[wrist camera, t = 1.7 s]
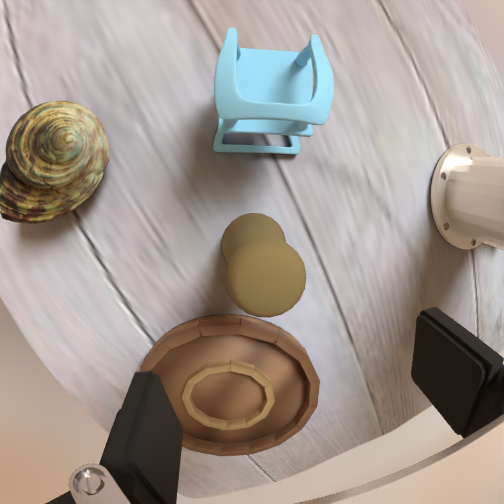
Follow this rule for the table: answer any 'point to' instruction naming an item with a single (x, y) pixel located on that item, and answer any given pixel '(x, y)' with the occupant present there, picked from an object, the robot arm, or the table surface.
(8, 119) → the table surface
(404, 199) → the table surface
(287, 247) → the cork
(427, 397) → the robot arm
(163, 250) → the table surface
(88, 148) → the seashell
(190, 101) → the table surface
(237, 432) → the ring tray
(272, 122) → the chair
